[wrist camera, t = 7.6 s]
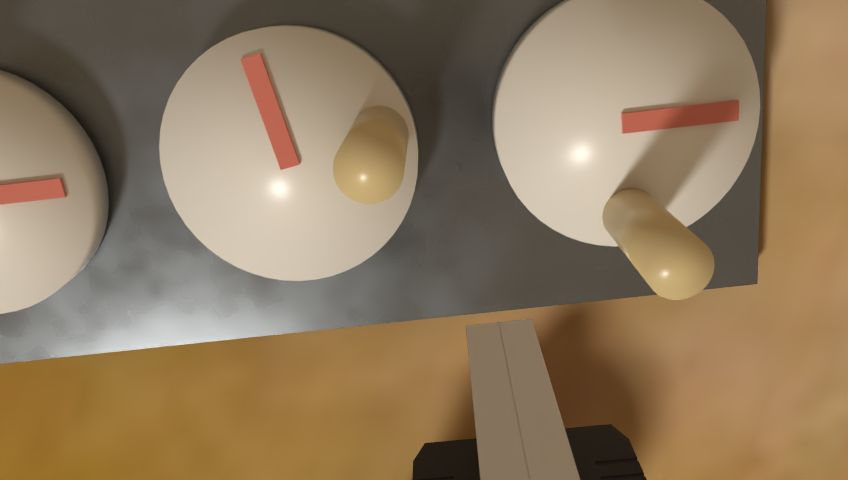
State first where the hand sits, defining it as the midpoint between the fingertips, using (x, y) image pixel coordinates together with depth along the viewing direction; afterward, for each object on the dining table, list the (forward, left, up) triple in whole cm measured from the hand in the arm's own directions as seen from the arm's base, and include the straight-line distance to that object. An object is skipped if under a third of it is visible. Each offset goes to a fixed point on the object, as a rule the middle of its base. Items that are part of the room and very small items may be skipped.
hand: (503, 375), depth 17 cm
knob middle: (-6, +3, -12) cm, 14 cm away
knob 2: (+6, +3, -12) cm, 14 cm away
